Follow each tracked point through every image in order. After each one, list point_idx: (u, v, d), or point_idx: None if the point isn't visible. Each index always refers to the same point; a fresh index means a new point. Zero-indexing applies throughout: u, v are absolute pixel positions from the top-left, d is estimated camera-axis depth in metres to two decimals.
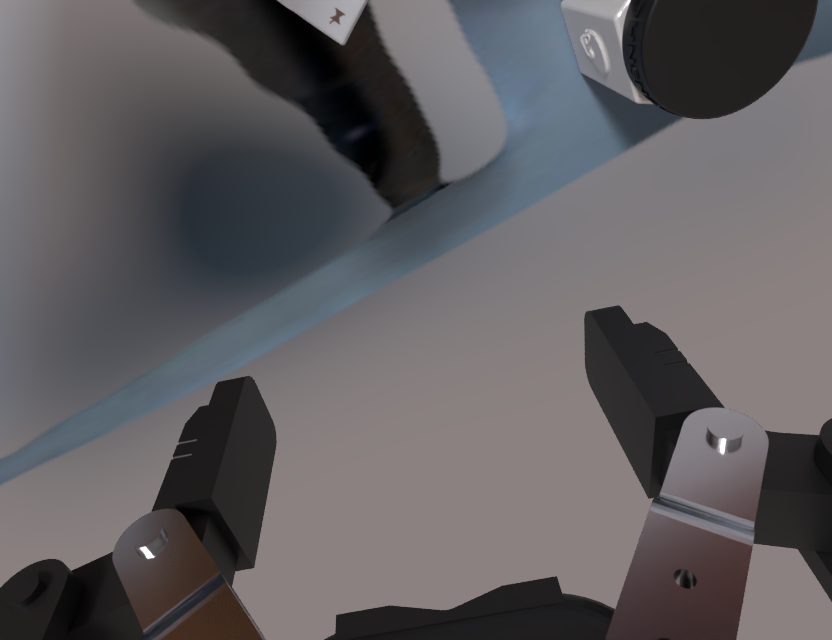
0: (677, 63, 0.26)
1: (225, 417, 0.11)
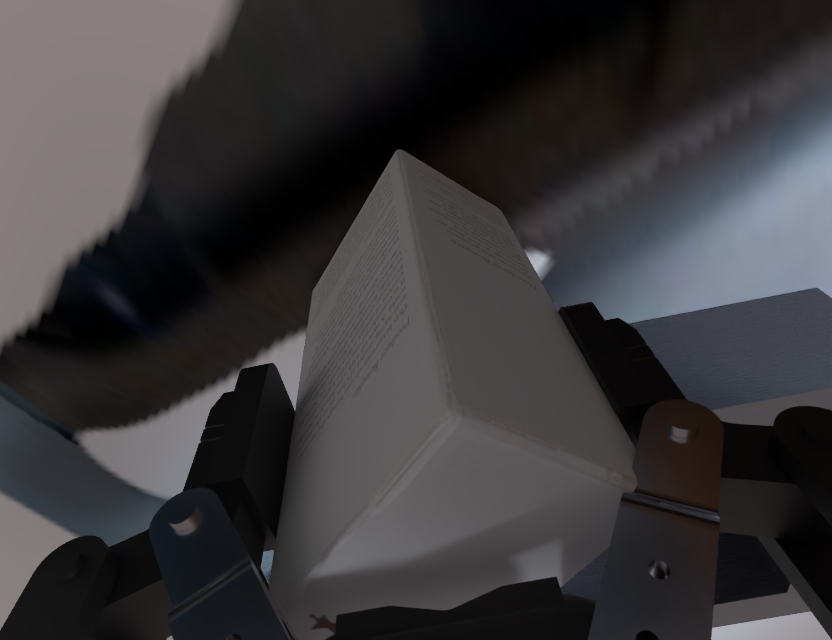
0: None
1: (251, 402, 0.12)
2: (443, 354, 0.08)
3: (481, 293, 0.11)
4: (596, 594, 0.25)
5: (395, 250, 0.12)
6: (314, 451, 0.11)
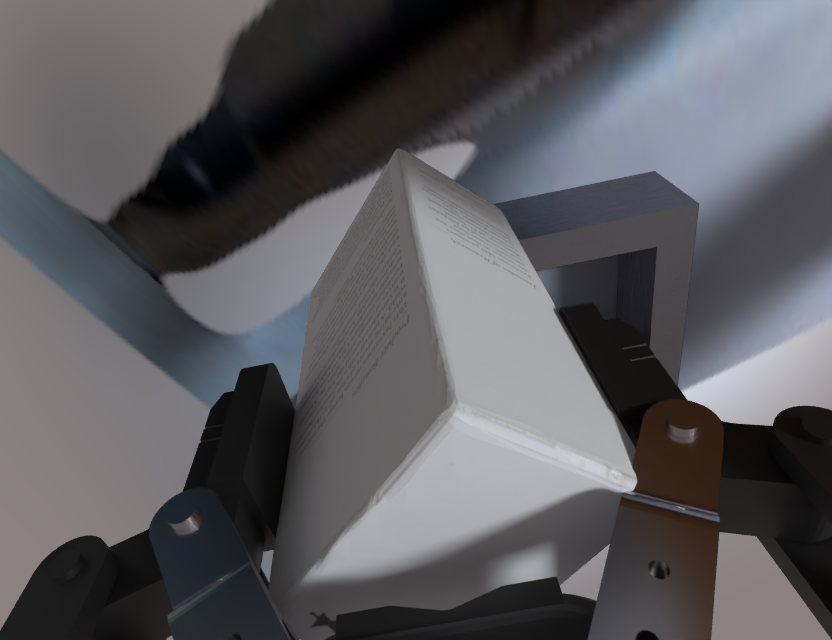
0: None
1: (251, 402, 0.12)
2: (442, 353, 0.08)
3: (480, 291, 0.11)
4: None
5: (395, 249, 0.12)
6: (314, 449, 0.11)
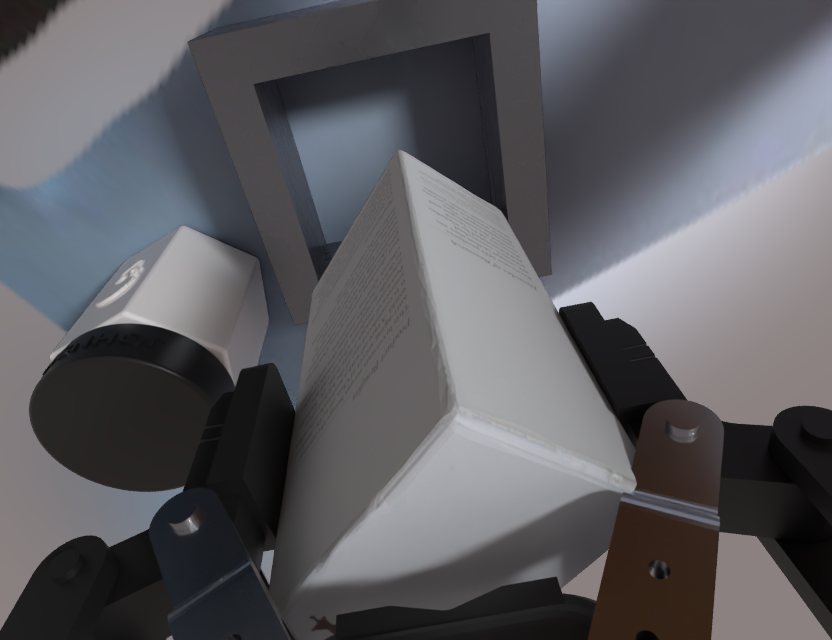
0: (78, 398, 0.23)
1: (251, 402, 0.12)
2: (443, 356, 0.08)
3: (481, 294, 0.11)
4: None
5: (395, 251, 0.12)
6: (314, 452, 0.11)
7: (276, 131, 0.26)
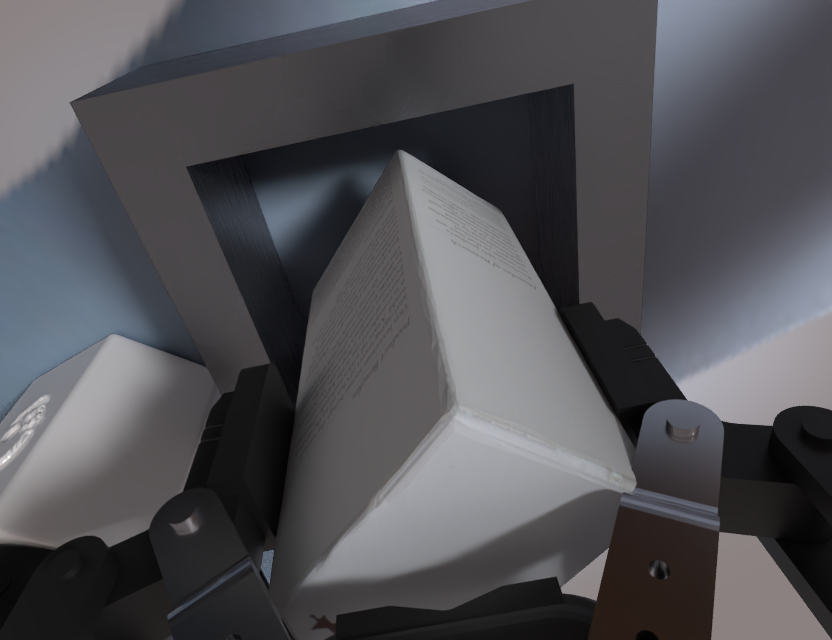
0: None
1: (251, 402, 0.12)
2: (442, 354, 0.08)
3: (480, 293, 0.11)
4: None
5: (395, 251, 0.12)
6: (314, 451, 0.11)
7: (231, 227, 0.17)
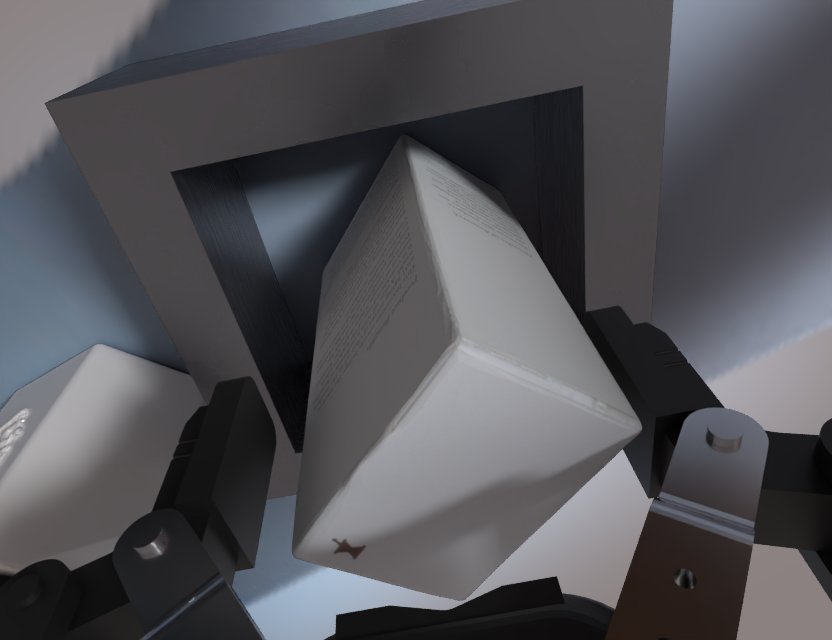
0: None
1: (225, 417, 0.11)
2: (447, 300, 0.09)
3: (481, 256, 0.12)
4: None
5: (402, 222, 0.13)
6: (332, 402, 0.12)
7: (220, 234, 0.16)
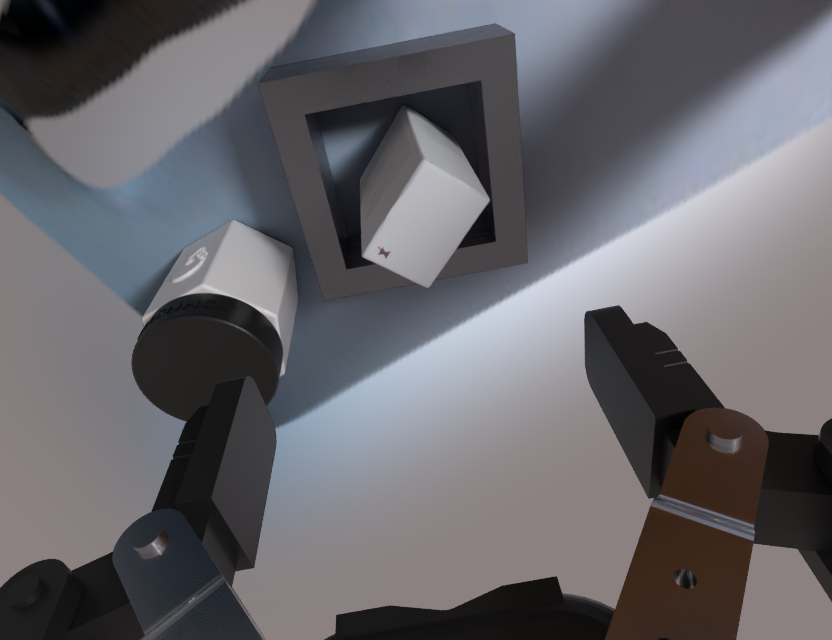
0: (170, 347, 0.30)
1: (225, 417, 0.11)
2: (421, 152, 0.27)
3: (436, 148, 0.30)
4: None
5: (404, 137, 0.31)
6: (374, 209, 0.30)
7: (317, 148, 0.33)
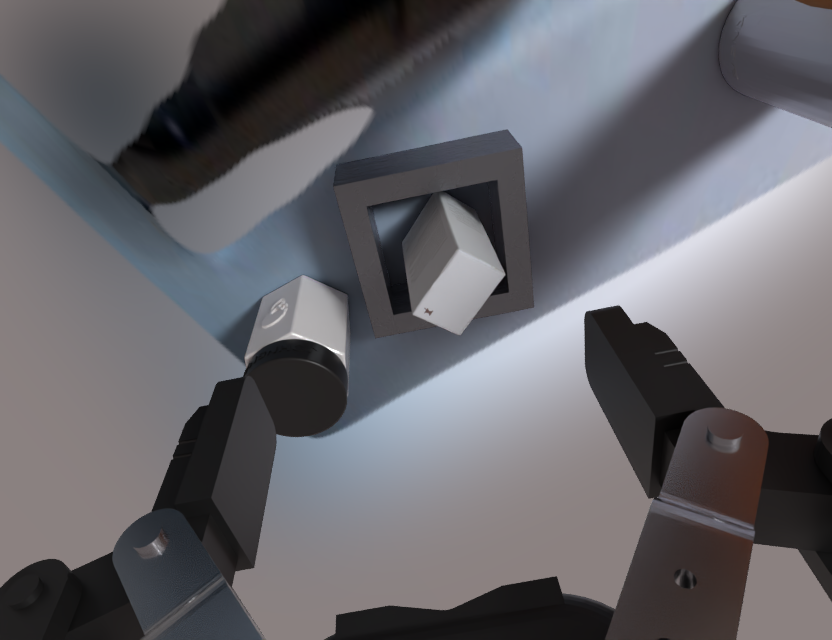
0: (270, 380, 0.41)
1: (225, 417, 0.11)
2: (455, 241, 0.37)
3: (465, 232, 0.40)
4: None
5: (440, 222, 0.41)
6: (419, 277, 0.41)
7: (373, 227, 0.44)
